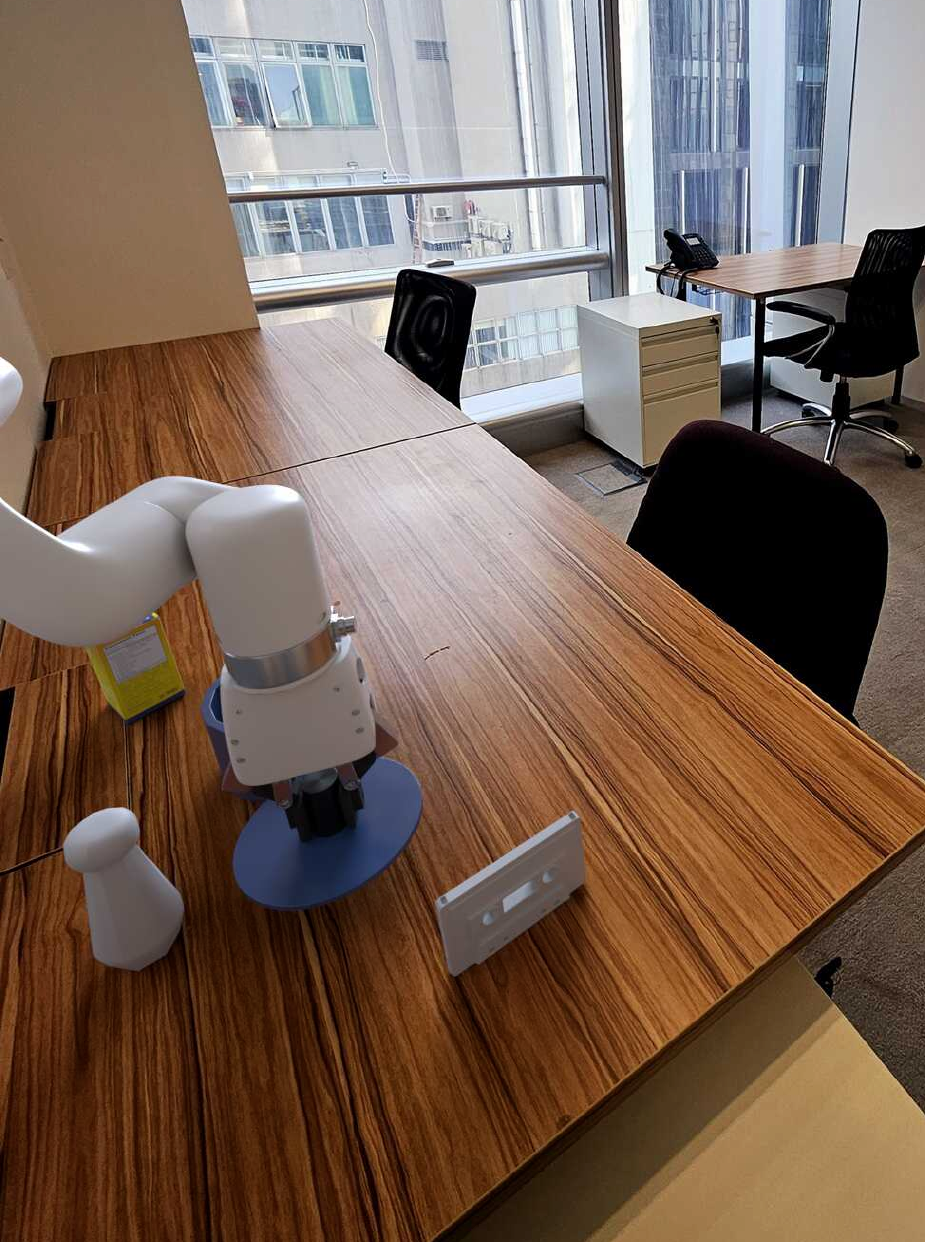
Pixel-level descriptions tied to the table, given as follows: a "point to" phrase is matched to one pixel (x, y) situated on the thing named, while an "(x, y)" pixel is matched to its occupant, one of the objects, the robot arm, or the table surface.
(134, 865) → the salt shaker
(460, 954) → the cassette
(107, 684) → the supplement box
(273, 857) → the pot lid
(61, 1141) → the table surface
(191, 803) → the table surface
